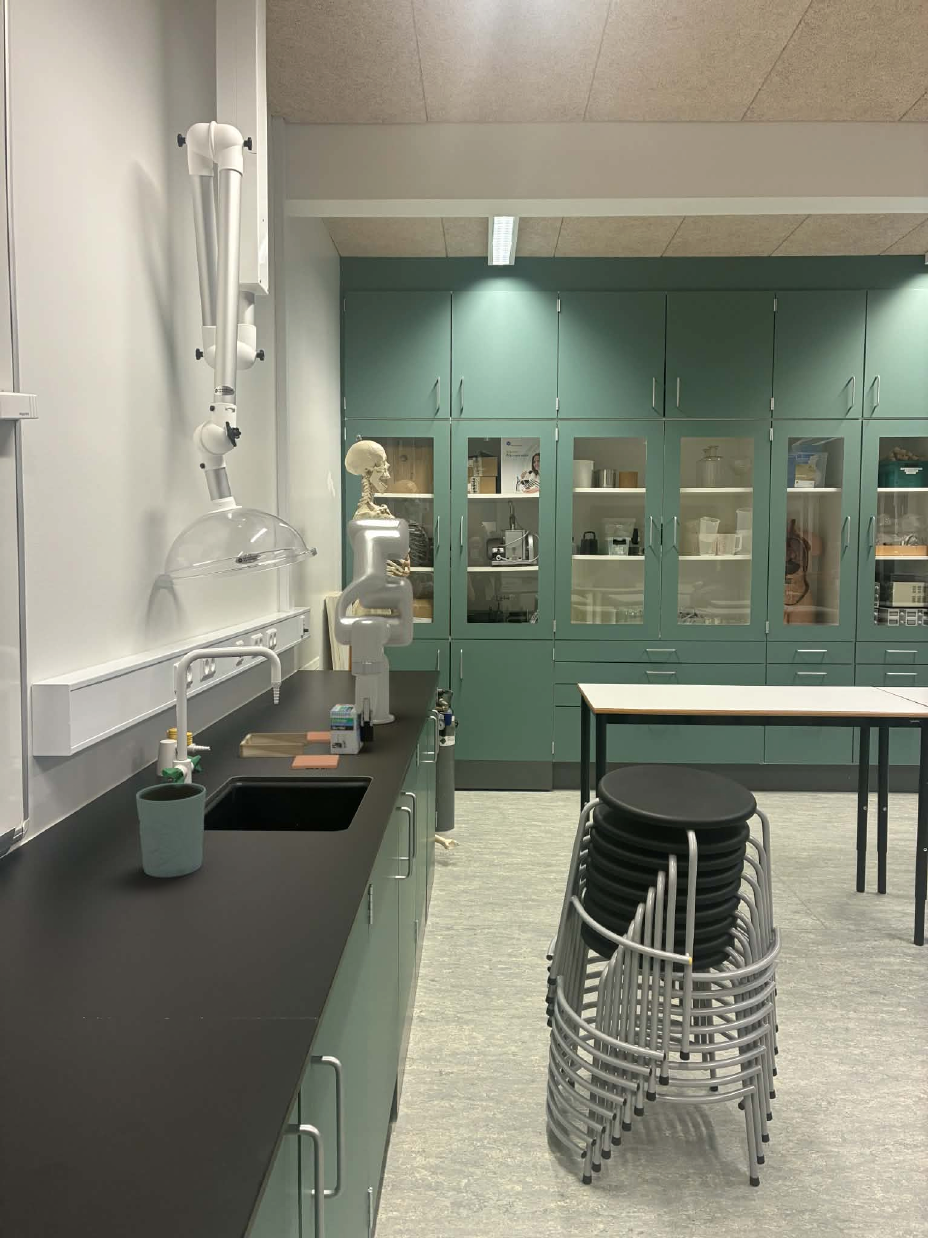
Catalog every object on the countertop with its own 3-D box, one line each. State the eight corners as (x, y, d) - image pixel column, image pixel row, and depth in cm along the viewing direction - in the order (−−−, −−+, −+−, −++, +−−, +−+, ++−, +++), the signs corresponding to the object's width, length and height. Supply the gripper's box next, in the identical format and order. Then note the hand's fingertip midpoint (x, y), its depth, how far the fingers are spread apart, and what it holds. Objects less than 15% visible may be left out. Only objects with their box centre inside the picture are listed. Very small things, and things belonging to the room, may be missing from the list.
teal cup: (204, 853, 137) (203, 780, 136) (209, 875, 128) (208, 796, 127) (137, 861, 133) (135, 786, 133) (137, 884, 124) (135, 803, 123)
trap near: (296, 758, 202) (296, 755, 202) (338, 758, 203) (338, 755, 203) (291, 769, 192) (291, 765, 192) (336, 768, 193) (336, 765, 193)
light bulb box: (357, 754, 207) (357, 711, 206) (329, 754, 207) (329, 710, 206) (363, 745, 217) (362, 703, 216) (337, 745, 217) (336, 703, 217)
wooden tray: (248, 745, 217) (248, 733, 216) (307, 744, 218) (307, 733, 218) (239, 757, 203) (239, 745, 203) (301, 756, 204) (301, 744, 204)
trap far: (308, 734, 230) (308, 731, 230) (345, 734, 231) (345, 731, 231) (304, 742, 220) (304, 739, 220) (343, 742, 221) (343, 739, 221)
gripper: (352, 665, 218) (353, 735, 219) (350, 672, 203) (350, 748, 204) (382, 664, 219) (382, 735, 220) (381, 672, 204) (382, 747, 205)
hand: (367, 741), depth 212 cm, fingers closed
